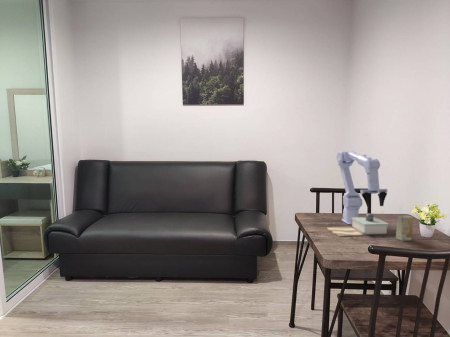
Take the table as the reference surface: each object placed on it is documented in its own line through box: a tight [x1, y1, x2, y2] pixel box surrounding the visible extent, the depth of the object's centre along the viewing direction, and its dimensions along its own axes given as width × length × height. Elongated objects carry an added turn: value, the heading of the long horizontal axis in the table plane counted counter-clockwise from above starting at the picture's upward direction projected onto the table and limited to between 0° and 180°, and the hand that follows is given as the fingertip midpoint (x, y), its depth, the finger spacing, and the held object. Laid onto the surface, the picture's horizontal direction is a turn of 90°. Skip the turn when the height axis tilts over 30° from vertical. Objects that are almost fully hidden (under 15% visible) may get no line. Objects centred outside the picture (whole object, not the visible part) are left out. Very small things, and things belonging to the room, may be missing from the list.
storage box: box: [351, 220, 388, 236], centre depth 194 cm, size 13×13×5 cm
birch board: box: [326, 226, 364, 238], centre depth 191 cm, size 15×14×1 cm
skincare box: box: [395, 214, 414, 242], centre depth 179 cm, size 6×4×12 cm
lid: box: [352, 213, 389, 226], centre depth 193 cm, size 14×14×5 cm
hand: (375, 206), depth 188 cm, fingers open, 7 cm apart
